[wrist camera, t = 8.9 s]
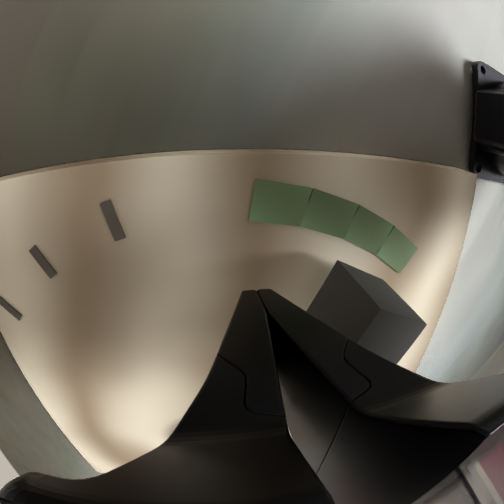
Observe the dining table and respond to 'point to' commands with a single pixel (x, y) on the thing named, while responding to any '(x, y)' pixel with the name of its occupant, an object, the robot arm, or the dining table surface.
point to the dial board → (199, 268)
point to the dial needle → (367, 312)
